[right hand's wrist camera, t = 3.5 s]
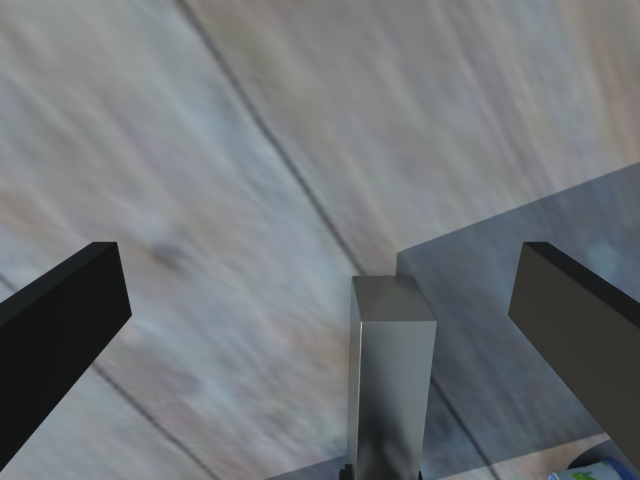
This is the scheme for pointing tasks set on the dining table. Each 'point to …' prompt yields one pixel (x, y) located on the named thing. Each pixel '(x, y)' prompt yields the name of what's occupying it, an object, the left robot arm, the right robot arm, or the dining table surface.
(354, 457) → the box
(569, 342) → the right robot arm
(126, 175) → the dining table surface
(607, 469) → the lunch box
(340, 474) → the left robot arm
